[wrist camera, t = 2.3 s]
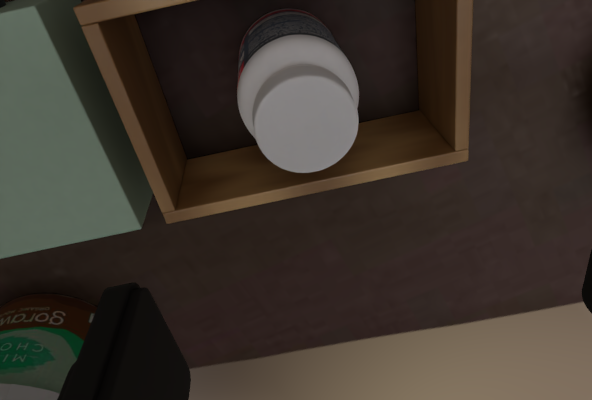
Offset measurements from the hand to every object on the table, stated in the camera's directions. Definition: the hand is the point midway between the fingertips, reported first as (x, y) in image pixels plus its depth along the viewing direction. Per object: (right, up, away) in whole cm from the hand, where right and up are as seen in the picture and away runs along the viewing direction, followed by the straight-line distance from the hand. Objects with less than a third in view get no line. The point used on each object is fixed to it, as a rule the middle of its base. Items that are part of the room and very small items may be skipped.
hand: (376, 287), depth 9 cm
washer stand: (-16, +6, +15) cm, 23 cm away
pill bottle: (-2, +9, +15) cm, 18 cm away
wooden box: (-2, +9, +15) cm, 18 cm away
